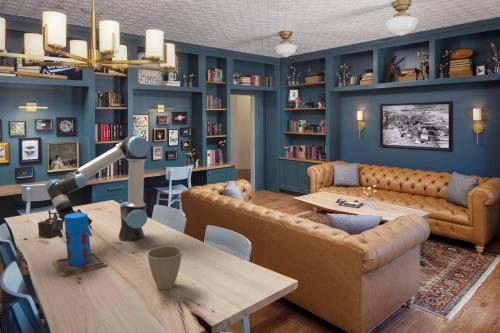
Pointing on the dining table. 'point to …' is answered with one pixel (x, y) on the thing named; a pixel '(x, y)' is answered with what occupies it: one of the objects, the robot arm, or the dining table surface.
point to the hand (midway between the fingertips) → (79, 238)
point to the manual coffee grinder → (48, 227)
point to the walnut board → (70, 270)
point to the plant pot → (164, 265)
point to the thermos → (77, 239)
